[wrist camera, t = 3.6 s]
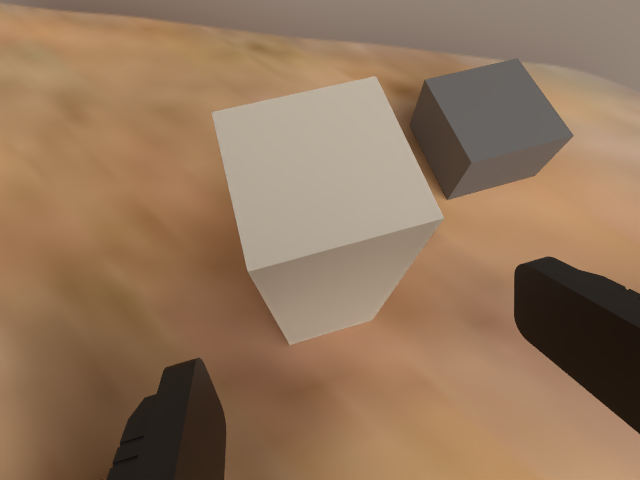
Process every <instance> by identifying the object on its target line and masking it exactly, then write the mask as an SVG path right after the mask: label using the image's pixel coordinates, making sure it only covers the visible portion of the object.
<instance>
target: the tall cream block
mask: <svg viewBox="0 0 640 480" xmlns="http://www.w3.org/2000/svg"><path fill="white" fill-rule="evenodd" d="M212 116H213V120H214V125H215V129H216V134H217V138H218V143H219V147H220V151H221V156H222V160H223V165H224V169H225V174H226V178H227V182H228V187H229V191H230V196H231V200H232V205H233V209H234V214H235V218H236V222H237V227H238V231H239V236H240V240H241V245H242V249H243V253H244V258H245V262H246V267H247V271H248V273H249V275H250V277H251V279H252V280H253V282H254V284H255V286H256V287H257V289H258V291H259V292H260V294H261V296H262V298H263V299H264V301H265V303H266V305H267V306H268V308H269V310H270V312H271V313H272V315H273V317H274V319H275V320H276V322H277V324H278V326H279V327H280V329H281V331H282V332H283V334H284V336H285V338H286V339H287V341H288V343H289V345H292V344H295V343H298V342H302V341H305V340H308V339H312V338H315V337H318V336H322V335H325V334H328V333H332V332H335V331H338V330H342V329H345V328H348V327H352V326H355V325H358V324H362V323H365V322H368V321H372V320H373V318H374V317H375V315H376V314H377V313H378V311H379V310H380V308H381V307H382V306H383V304H384V303H385V301H386V300H387V299H388V297H389V296H390V294H391V293H392V291H393V290H394V289H395V287H396V286H397V284H398V283H399V282H400V280H401V279H402V277H403V276H404V274H405V273H406V272H407V270H408V269H409V267H410V266H411V265H412V263H413V262H414V260H415V259H416V257H417V256H418V255H419V253H420V252H421V250H422V249H423V248H424V246H425V245H426V243H427V242H428V240H429V239H430V238H431V236H432V235H433V233H434V232H435V231H436V229H437V228H438V226H439V225H440V224H441V222H442V221H443V219H444V217H443V215H442V212H441V210H440V208H439V206H438V204H437V202H436V200H435V198H434V196H433V194H432V192H431V190H430V187H429V185H428V183H427V181H426V179H425V177H424V175H423V173H422V171H421V169H420V167H419V165H418V162H417V160H416V158H415V156H414V154H413V152H412V150H411V148H410V146H409V144H408V142H407V140H406V137H405V135H404V133H403V131H402V129H401V127H400V125H399V123H398V121H397V119H396V117H395V115H394V112H393V110H392V108H391V106H390V104H389V102H388V100H387V98H386V96H385V94H384V92H383V89H382V87H381V85H380V83H379V81H378V79H377V77H376V76H374V77H370V78H365V79H360V80H356V81H351V82H347V83H342V84H338V85H333V86H329V87H324V88H319V89H315V90H310V91H306V92H301V93H297V94H292V95H287V96H283V97H278V98H274V99H269V100H265V101H260V102H255V103H251V104H246V105H242V106H237V107H233V108H228V109H223V110H219V111H214V112H212Z"/></svg>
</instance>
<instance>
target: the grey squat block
mask: <svg viewBox="0 0 640 480" xmlns="http://www.w3.org/2000/svg"><path fill="white" fill-rule="evenodd" d="M410 127H411V129H412V131H413V133H414V135H415V137H416V139H417V141H418V143H419V145H420V147H421V149H422V151H423V153H424V155H425V157H426V159H427V161H428V163H429V165H430V167H431V169H432V171H433V172H434V174H435V176H436V178H437V180H438V182H439V184H440V186H441V188H442V190H443V192H444V194H445V196H446V198H447V200H449V199H453V198H456V197H460V196H463V195H467V194H471V193H474V192H478V191H482V190H485V189H489V188H492V187H496V186H500V185H503V184H507V183H511V182H514V181H518V180H521V179H525V178H529V177H532V176H535V175H536V174H537V173H538V172H539V171H540V170H541V169H542V168H543V167H544V166H545V165H546V164H547V163H548V162H549V161H550V160H551V159H552V158H553V157H554V156H555V154H556V153H557V152H558V151H559V150H560V149H561V148H562V147H563V146H564V145H565V144H566V143H567V142H568V141H569V140H570V139H571V138H572V137H573V134H572V133H571V131H570V130H569V129H568V127H567V126H566V125H565V123H564V122H563V120H562V119H561V118H560V116H559V115H558V113H557V112H556V111H555V109H554V108H553V107H552V105H551V104H550V102H549V101H548V100H547V98H546V97H545V95H544V94H543V93H542V91H541V90H540V89H539V87H538V86H537V84H536V83H535V82H534V80H533V79H532V78H531V76H530V75H529V73H528V72H527V71H526V69H525V68H524V66H523V65H522V64H521V62H520V61H519V60H518V59H513V60H509V61H504V62H500V63H496V64H491V65H487V66H483V67H478V68H474V69H470V70H465V71H461V72H457V73H452V74H448V75H444V76H439V77H435V78H431V79H426V80H425V81H424V84H423V87H422V90H421V93H420V96H419V99H418V102H417V105H416V108H415V111H414V114H413V117H412V120H411V123H410Z"/></svg>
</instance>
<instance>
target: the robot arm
mask: <svg viewBox="0 0 640 480" xmlns="http://www.w3.org/2000/svg"><path fill="white" fill-rule="evenodd" d="M514 318H515V322H516V325H517V327H518V329H519V331H520V333H521V334H522V336H523V337H524V338H525V339H526V340H527V341H528V342H530V343H531V344H532V345H533V346H534V347H536V348H537V349H538V350H539V351H540V352H542V353H543V354H544V355H545V356H546V357H548V358H549V359H550V360H551V361H552V362H554V363H555V364H556V365H557V366H559V367H560V368H561V369H562V370H563V371H565V372H566V373H567V374H568V375H569V376H571V377H572V378H573V379H574V380H575V381H577V382H578V383H579V384H580V385H581V386H583V387H584V388H585V389H586V390H587V391H589V392H590V393H591V394H592V395H593V396H595V397H596V398H597V399H598V400H599V401H601V402H602V403H603V404H604V405H605V406H607V407H608V408H609V409H610V410H611V411H613V412H614V413H615V414H616V415H618V416H619V417H620V418H621V419H622V420H624V421H625V422H626V423H627V424H628V425H630V426H631V427H632V428H633V429H634V430H636V431H637V432H638V433H639V434H640V294H639V293H637V292H635V291H633V290H631V289H629V290H627V289H626V288H625V287H624V286H622V285H620V284H618V283H616V282H614V281H612V280H610V279H608V278H606V277H604V276H600V275H597V274H593V273H589V272H585V271H581V270H578V269H576V268H574V267H572V266H570V265H568V264H566V263H564V262H562V261H560V260H558V259H556V258H553V257H544V258H541V259H537V260H534V261H530V262H527V263H524V264H520V265H518V266H517V267H516V269H515V275H514ZM225 449H226V423H225V417H224V412H223V408H222V405H221V403H220V400H219V398H218V396H217V393H216V391H215V388H214V386H213V384H212V381H211V379H210V376H209V374H208V372H207V369H206V367H205V364H204V362H203V361H202V359H200V358H196V359H193V360H189V361H186V362H183V363H179V364H176V365H172V366H169V367H166V368H165V369H164V371H163V374H162V378H161V381H160V384H159V388H158V391H157V394H155V395H152V396H149V397H145V398H144V399H143V401H142V402H141V403H140V405H139V406H138V407H137V409H136V410H135V411H134V413H133V414H132V415H131V417H130V418H129V419H128V422H127V424H126V427H125V430H124V433H123V435H122V438H121V441H120V447H119V448H118V449H117V452H116V455H115V458H114V460H113V468H111V469H110V471H109V474H108V477H107V480H224V469H225Z"/></svg>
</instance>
